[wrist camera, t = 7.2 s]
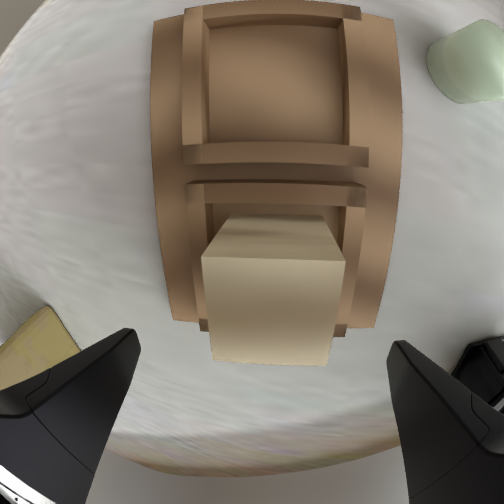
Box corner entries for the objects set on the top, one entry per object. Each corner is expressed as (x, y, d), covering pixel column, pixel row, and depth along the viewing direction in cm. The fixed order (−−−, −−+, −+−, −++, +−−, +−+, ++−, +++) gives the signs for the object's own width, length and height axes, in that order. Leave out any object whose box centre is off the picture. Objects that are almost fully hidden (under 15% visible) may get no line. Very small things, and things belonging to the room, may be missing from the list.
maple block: (315, 295, 16) (326, 365, 11) (234, 292, 17) (212, 360, 11) (322, 215, 14) (345, 261, 9) (231, 213, 15) (200, 256, 9)
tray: (369, 317, 18) (379, 341, 16) (178, 310, 19) (165, 332, 17) (386, 26, 10) (401, 10, 8) (161, 27, 12) (143, 12, 9)
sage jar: (479, 111, 11) (531, 110, 6) (429, 94, 12) (481, 82, 7) (472, 53, 10) (519, 40, 5) (422, 33, 10) (464, 6, 5)
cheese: (26, 369, 30) (-18, 425, 16) (-6, 321, 26) (-59, 373, 13) (100, 373, 25) (38, 472, 11) (51, 301, 22) (-40, 394, 8)
